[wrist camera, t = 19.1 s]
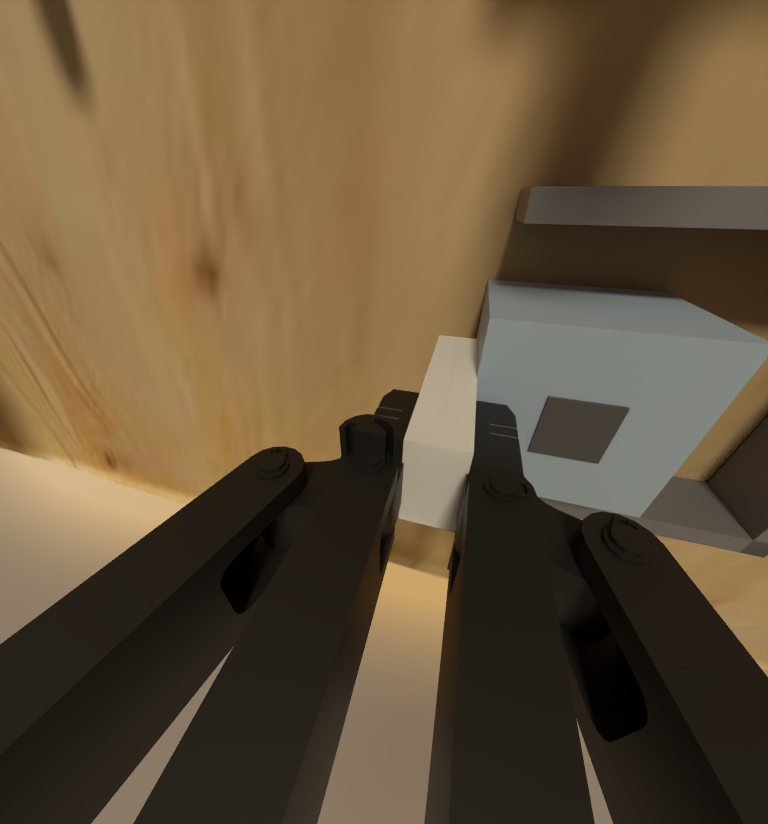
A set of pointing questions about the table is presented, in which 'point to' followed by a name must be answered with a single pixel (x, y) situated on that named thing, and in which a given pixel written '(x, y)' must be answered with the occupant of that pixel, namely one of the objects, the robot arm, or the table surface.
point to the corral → (764, 449)
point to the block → (608, 385)
